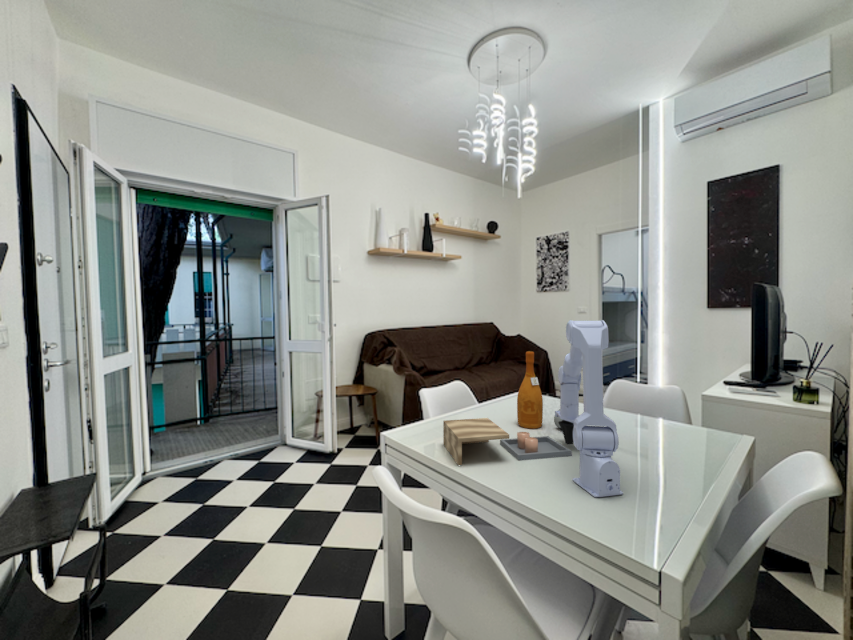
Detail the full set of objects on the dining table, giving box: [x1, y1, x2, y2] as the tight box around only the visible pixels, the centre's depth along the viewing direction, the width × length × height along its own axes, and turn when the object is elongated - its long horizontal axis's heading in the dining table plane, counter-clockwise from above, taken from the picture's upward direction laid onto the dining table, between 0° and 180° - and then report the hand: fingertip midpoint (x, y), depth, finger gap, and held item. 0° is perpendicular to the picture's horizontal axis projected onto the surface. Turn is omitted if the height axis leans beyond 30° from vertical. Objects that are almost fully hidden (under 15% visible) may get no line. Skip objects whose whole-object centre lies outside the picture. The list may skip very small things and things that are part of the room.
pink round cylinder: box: [525, 436, 538, 453], centre depth 114 cm, size 4×4×4 cm
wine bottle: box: [516, 350, 544, 430], centre depth 143 cm, size 10×10×30 cm
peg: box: [516, 431, 531, 449], centre depth 119 cm, size 4×4×4 cm
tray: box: [499, 435, 573, 461], centre depth 117 cm, size 14×18×2 cm
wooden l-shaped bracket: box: [442, 417, 510, 466], centre depth 115 cm, size 18×16×8 cm
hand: (569, 443), depth 120 cm, fingers closed
